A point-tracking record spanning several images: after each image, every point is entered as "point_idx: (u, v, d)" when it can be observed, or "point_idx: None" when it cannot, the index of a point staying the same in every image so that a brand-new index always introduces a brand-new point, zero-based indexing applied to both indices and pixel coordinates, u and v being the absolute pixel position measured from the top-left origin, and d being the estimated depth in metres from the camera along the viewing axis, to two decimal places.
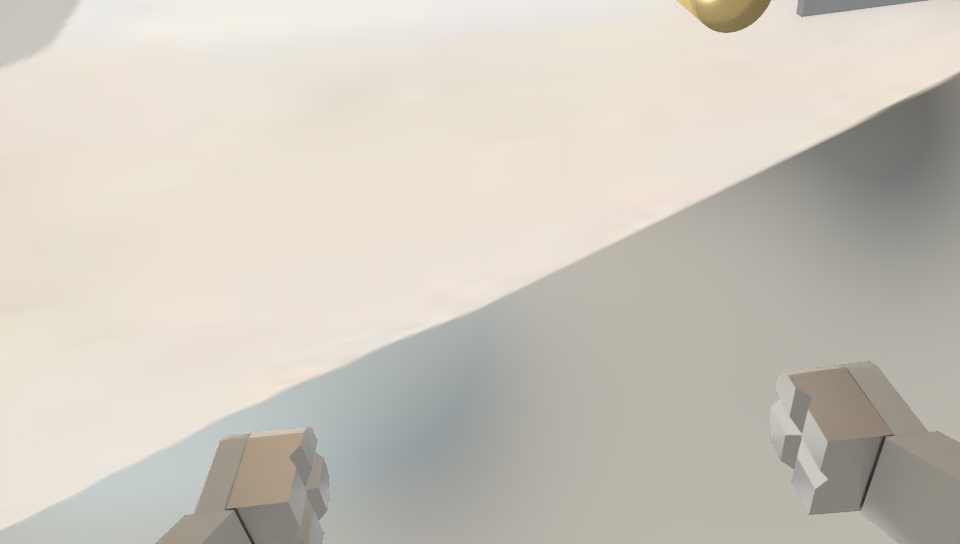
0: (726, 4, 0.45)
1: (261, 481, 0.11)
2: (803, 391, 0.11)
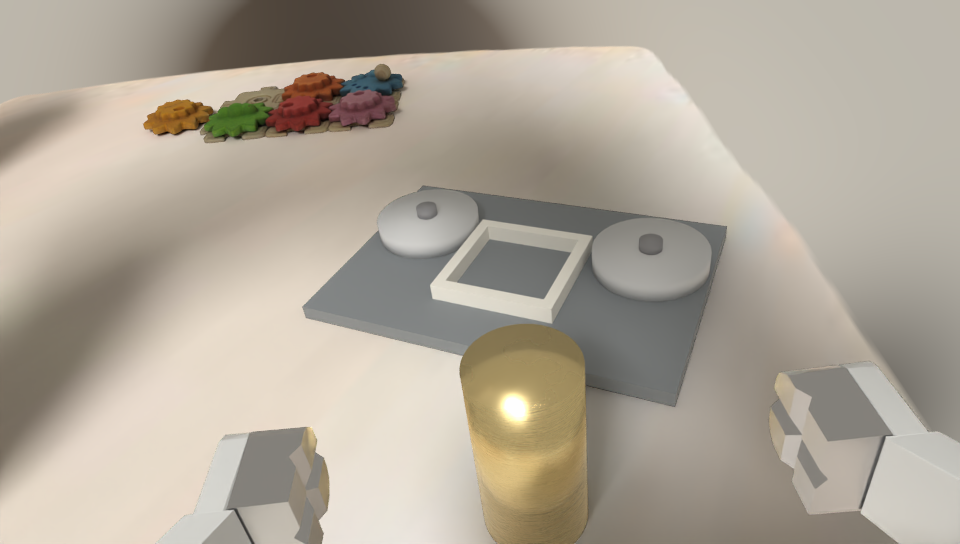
0: (534, 375, 0.28)
1: (261, 481, 0.11)
2: (803, 391, 0.11)
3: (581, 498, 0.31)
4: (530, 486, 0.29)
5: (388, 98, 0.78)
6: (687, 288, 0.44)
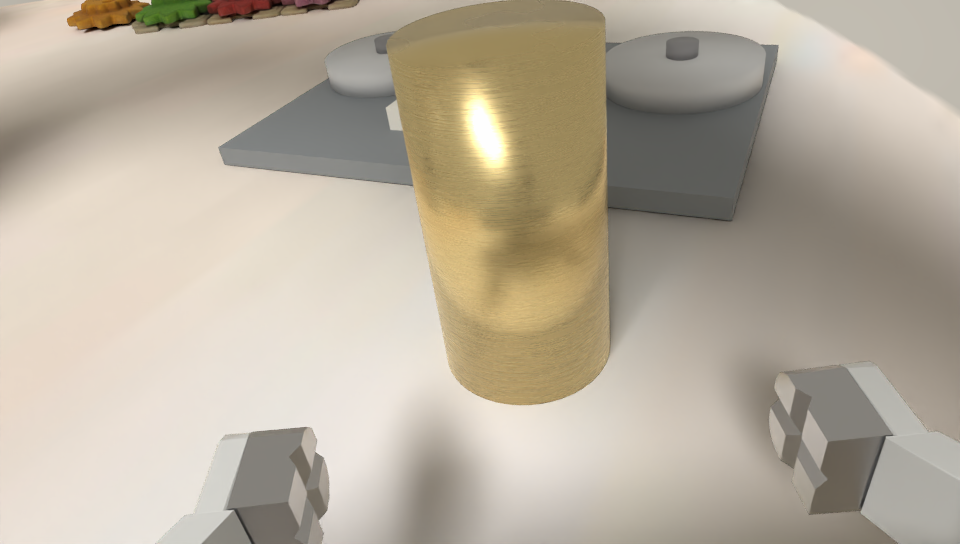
0: (515, 35, 0.16)
1: (261, 481, 0.11)
2: (803, 391, 0.11)
3: (600, 299, 0.19)
4: (513, 251, 0.17)
5: None
6: (736, 93, 0.32)
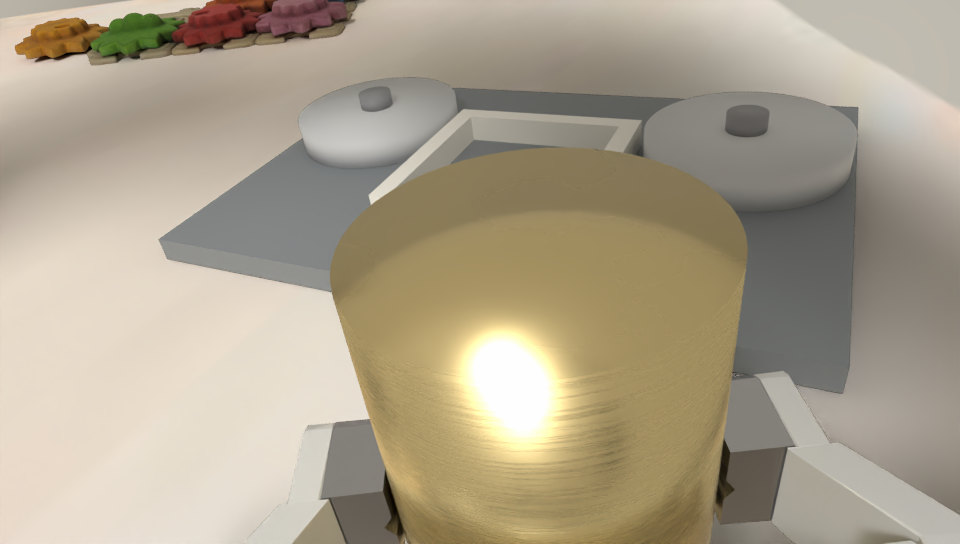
0: (574, 263, 0.08)
1: (352, 471, 0.10)
2: None
3: None
4: None
5: (337, 3, 0.59)
6: (823, 186, 0.25)
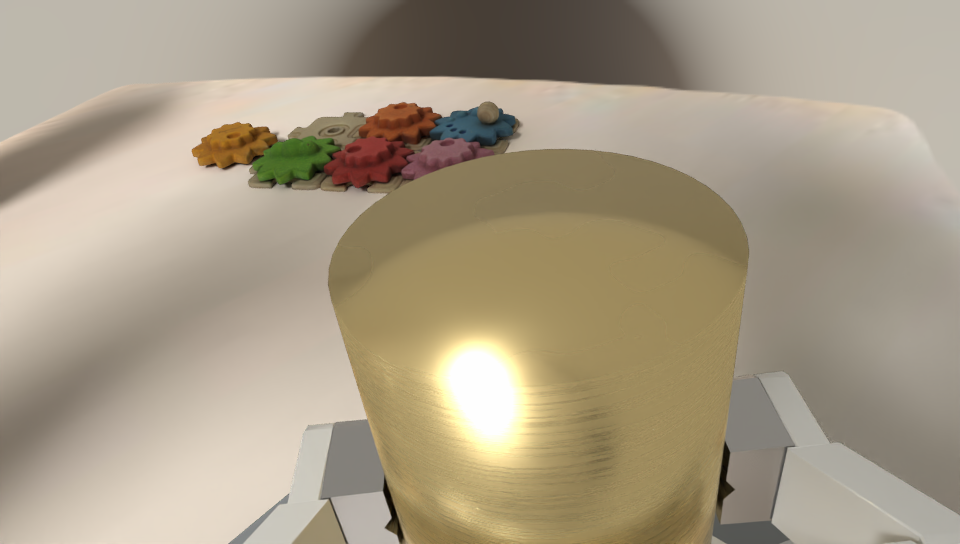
0: (574, 266, 0.08)
1: (352, 471, 0.10)
2: None
3: None
4: None
5: (485, 153, 0.57)
6: None
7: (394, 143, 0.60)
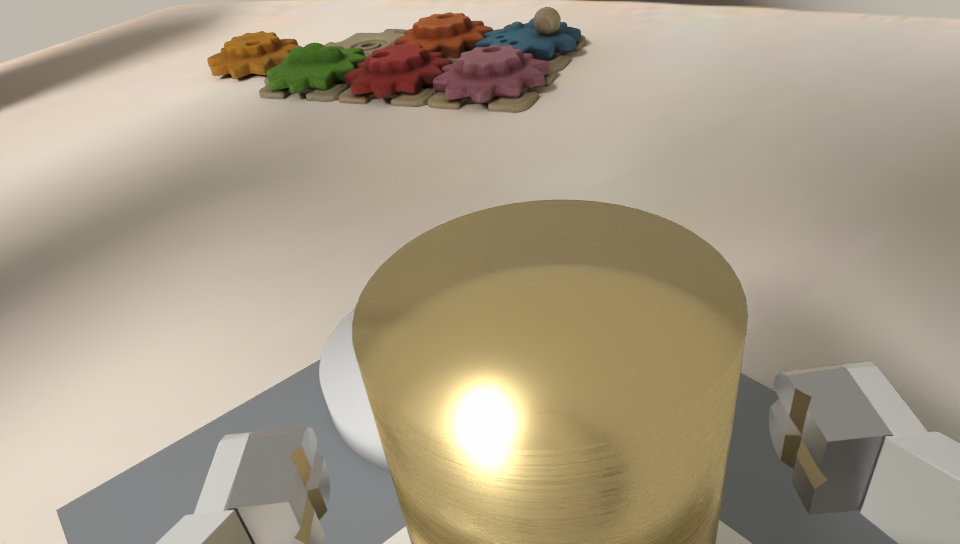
0: (584, 325, 0.09)
1: (261, 481, 0.11)
2: (803, 391, 0.11)
3: None
4: None
5: (537, 64, 0.46)
6: None
7: (431, 53, 0.50)
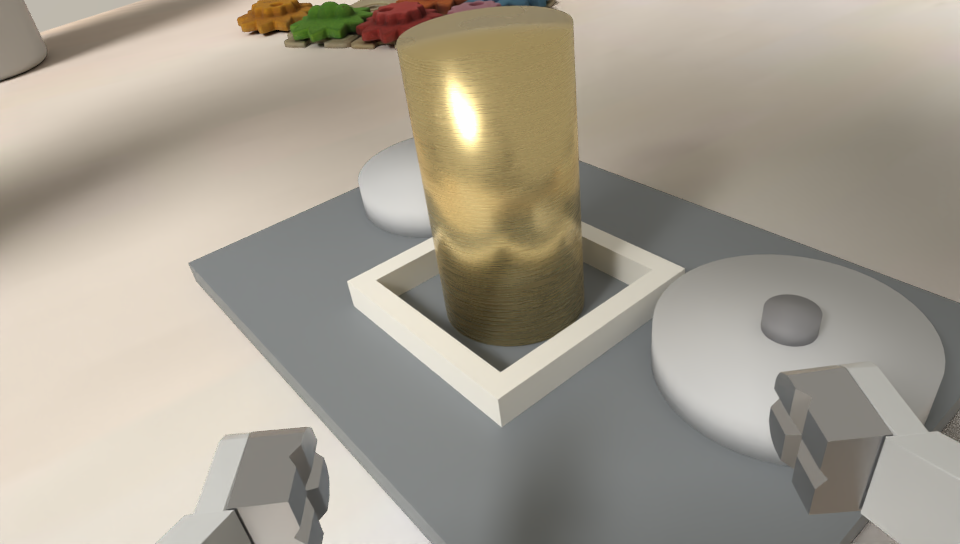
0: (500, 35, 0.19)
1: (261, 481, 0.11)
2: (803, 391, 0.11)
3: (573, 256, 0.23)
4: (498, 211, 0.20)
5: None
6: None
7: (427, 10, 0.61)
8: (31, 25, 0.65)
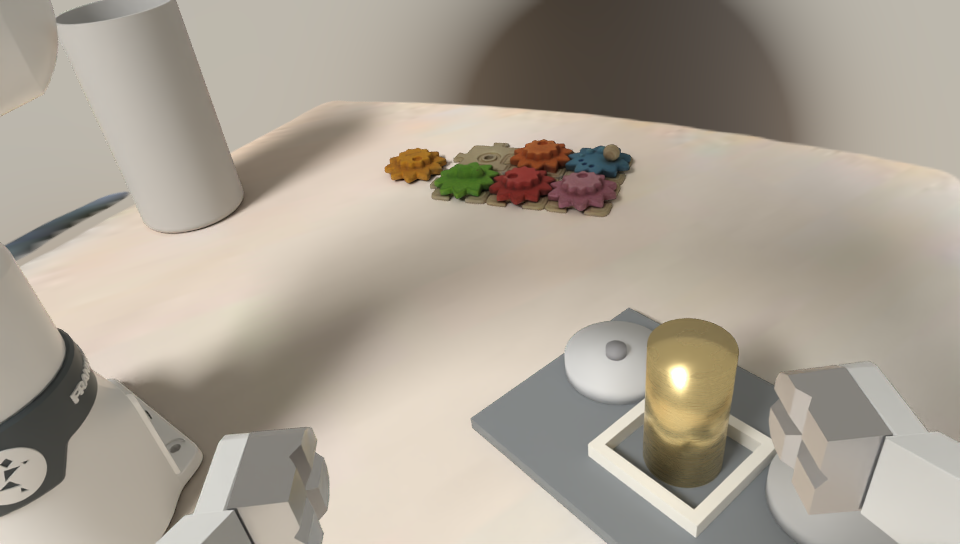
0: (703, 354, 0.40)
1: (261, 481, 0.11)
2: (803, 391, 0.11)
3: (724, 444, 0.43)
4: (695, 433, 0.41)
5: (610, 184, 0.77)
6: None
7: (540, 172, 0.82)
8: (237, 175, 0.86)
